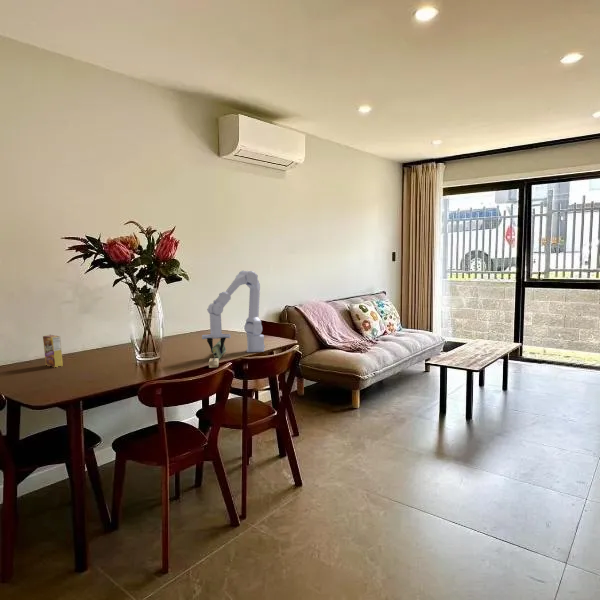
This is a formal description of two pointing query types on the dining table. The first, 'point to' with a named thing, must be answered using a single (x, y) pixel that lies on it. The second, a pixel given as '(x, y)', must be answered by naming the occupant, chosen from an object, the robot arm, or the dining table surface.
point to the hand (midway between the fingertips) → (216, 352)
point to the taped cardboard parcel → (213, 362)
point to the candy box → (52, 350)
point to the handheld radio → (218, 350)
